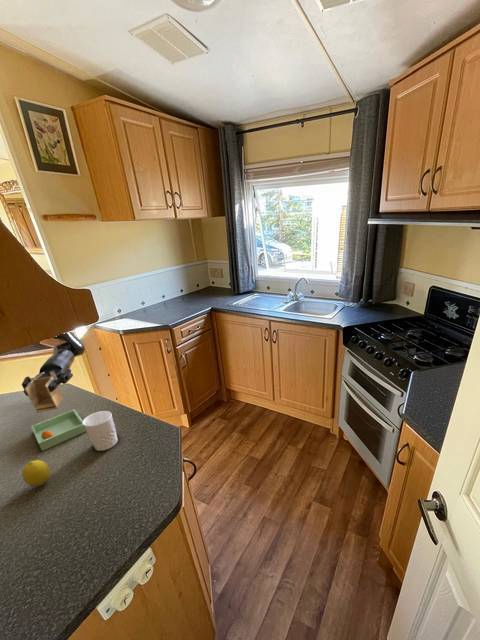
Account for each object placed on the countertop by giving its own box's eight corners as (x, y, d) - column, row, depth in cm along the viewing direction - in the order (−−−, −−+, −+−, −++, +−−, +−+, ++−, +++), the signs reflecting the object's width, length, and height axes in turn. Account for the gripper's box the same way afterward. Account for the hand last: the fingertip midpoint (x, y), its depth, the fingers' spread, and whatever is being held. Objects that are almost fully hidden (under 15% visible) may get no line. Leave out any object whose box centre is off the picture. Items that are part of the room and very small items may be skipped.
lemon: (58, 481, 80) (47, 458, 76) (35, 495, 76) (23, 473, 72) (48, 473, 83) (37, 451, 79) (25, 487, 78) (13, 465, 75)
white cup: (91, 455, 88) (80, 429, 84) (93, 440, 95) (84, 415, 91) (119, 447, 91) (110, 421, 87) (120, 432, 98) (112, 408, 94)
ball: (54, 437, 96) (48, 431, 94) (45, 443, 94) (38, 437, 93) (54, 433, 98) (49, 427, 96) (45, 438, 97) (39, 432, 95)
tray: (42, 450, 91) (38, 443, 90) (34, 433, 100) (30, 426, 99) (87, 430, 100) (85, 423, 99) (76, 415, 108) (74, 409, 107)
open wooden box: (44, 402, 98) (32, 379, 94) (63, 398, 99) (52, 376, 95) (37, 412, 93) (24, 389, 89) (57, 408, 94) (45, 385, 90)
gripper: (29, 362, 102) (6, 386, 87) (74, 354, 105) (59, 376, 91) (38, 380, 105) (17, 406, 91) (82, 372, 108) (69, 396, 94)
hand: (38, 391), depth 91 cm, fingers closed on open wooden box, 6 cm apart
